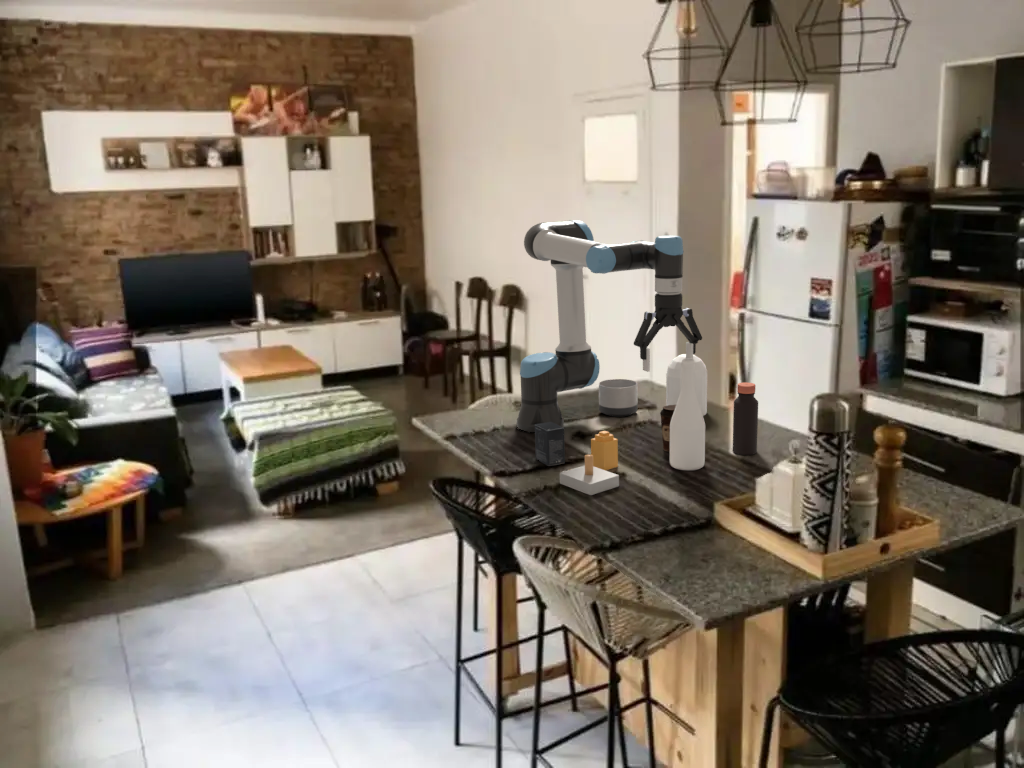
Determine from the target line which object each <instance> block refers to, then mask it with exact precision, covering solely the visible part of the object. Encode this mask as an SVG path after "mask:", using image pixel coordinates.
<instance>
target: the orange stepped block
mask: <svg viewBox="0 0 1024 768" xmlns="http://www.w3.org/2000/svg"><path fill="white" fill-rule="evenodd" d="M614 436H615V435H614V434H613V433H610V432H609V431H606V430H602V431H599V432H598V434H594V438H591V439H590V455H593V466H594V467H597V468H600V469H603V470H605V471H610V470H611V469H615V468H618V467H619V451H618V450H619V447H618V446H619V445H618V442H619V440H618V438H616V437H614Z"/></svg>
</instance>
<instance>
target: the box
mask: <svg viewBox="0 0 1024 768" xmlns="http://www.w3.org/2000/svg"><path fill="white" fill-rule="evenodd" d="M534 444H535V448H534V449H535V450H534V451H535V460H536V459H537V461H538V460H539V462H540V463H542V464H544V465H545V466H548V467H551V466H557V465H561V464H565V463H566V447H565V446H566V443H565V427H564V426H563V427H561V426H559V425H557V424H555V423H553V422H547V423H540V424H535V433H534Z"/></svg>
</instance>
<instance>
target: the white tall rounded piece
mask: <svg viewBox="0 0 1024 768" xmlns="http://www.w3.org/2000/svg"><path fill="white" fill-rule="evenodd" d="M681 367H682V388H681V393H680V396H679V399H678V402H677V405H676V407H675V410H674V413H673V416H672V419H671V422H670V452H669V465H670V466H671V467H672V468H674V469H676V470H680V471H697V470H700V469H701V468H703V467H704V466H705V462H706V461H705V460H706V458H705V457H706V423H705V418H704V416H703V415H702V412H701V409H700V406H699V403H698V400H697V397H696V394H695V388H694V368H695V361H694V359H683V360H682V362H681Z"/></svg>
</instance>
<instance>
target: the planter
mask: <svg viewBox="0 0 1024 768" xmlns="http://www.w3.org/2000/svg"><path fill="white" fill-rule="evenodd" d="M638 398H639V397H638V382H637V381H636V380H634V379H633V380H632V379H627V378H612V379H610V378H609V379H604V380H602V381H599V383H598V411H599V412H600V413H602V414H604V415H606V416H609V417H614V418H621V417H622V418H623V417H624V418H625V417H628V416H631V415H633V414H635V413H636V412H637V411H638V409H639V408H638V400H639V399H638Z"/></svg>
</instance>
